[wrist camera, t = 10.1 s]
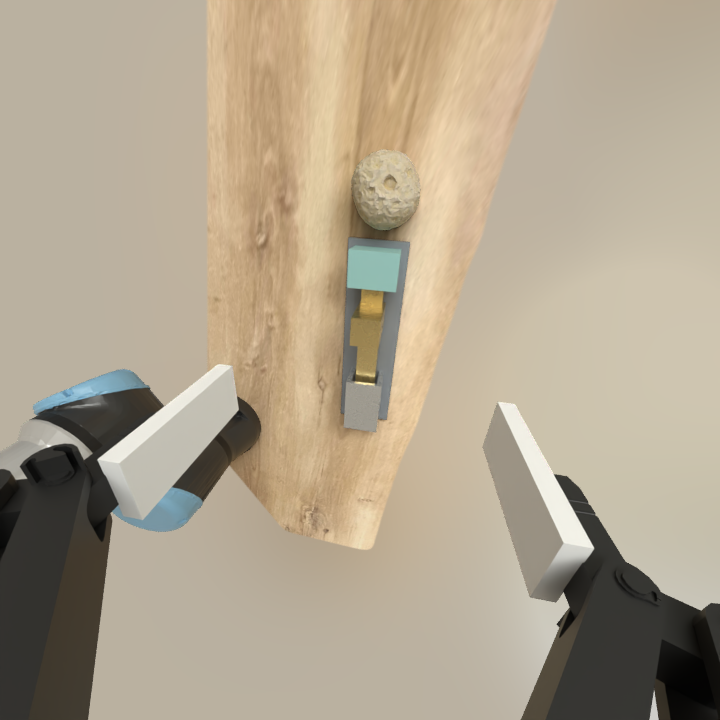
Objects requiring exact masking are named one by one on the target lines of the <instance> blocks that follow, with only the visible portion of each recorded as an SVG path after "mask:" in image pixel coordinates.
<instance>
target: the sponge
mask: <svg viewBox="0 0 720 720" xmlns="http://www.w3.org/2000/svg"><path fill="white" fill-rule="evenodd" d="M420 190H421V189H420V183H419V175H418V173H417V172H416V169H415V167H414V165H413V163H412V162H411V161H410V159H409V158H408V157H407V154H404V153H402V152H400V151H390V150H383V149H382V150H379V151H376V152H372V153H371V154H370V155H368V156H367V157H365V158H364V159H363V160H361V162H360V163H359V164H358V165H357V167H356V169H355V171H354V174H353V177H352V196H353V200H354V203H355V206H356V209H357V211H358V213H359V215H360V216H361V218H362V219H363V220H364V221H365V222H366V223H367V224H368V225H370V226H371V227H373V228H375V229H378V230H391V229H392V228H395V227H398V226H401V225H402V224H403V223H405V222H406V221H408V220H409V219H410V218H411V216H412V215H413V214H414V213H415V211H416V209H417V206H418V204H419V198H420Z"/></svg>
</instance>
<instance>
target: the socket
mask: <svg viewBox="0 0 720 720" xmlns="http://www.w3.org/2000/svg"><path fill="white" fill-rule="evenodd" d="M401 250H402V249H393V248H381V247H370V246H358V245H355V246H353V247H352V248H350V249H349V252H348V274H347V288H357V289H366V290H376V291H386V292H396V289H397V283H398V274H399V266H400V258H401Z"/></svg>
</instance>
